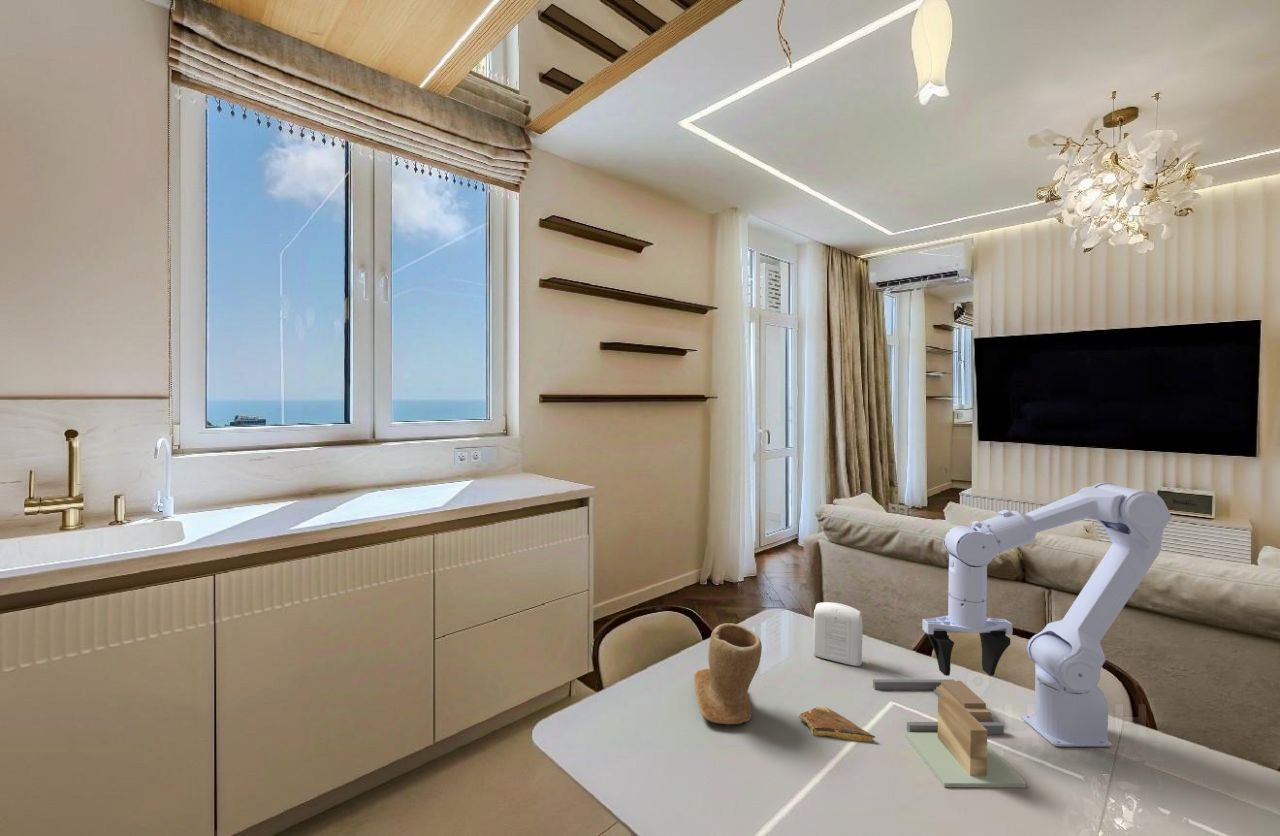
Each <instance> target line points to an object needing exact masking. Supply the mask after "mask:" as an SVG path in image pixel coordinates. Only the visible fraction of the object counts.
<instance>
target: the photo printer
mask: <svg viewBox="0 0 1280 836" xmlns="http://www.w3.org/2000/svg"><path fill="white" fill-rule="evenodd" d="M812 640H813V641H812V642H813V643H812V644H813V646H812V647H813V650H812V652H813V653H812V654H813V656H815V657H818V658H821V659H824V660H825V659H826V660H829V661H833V662H837V663H842V664H844V665H850V666H853V667H860V666H861V665H862V662H863V617H862V612H861V610H858V609H857V608H855V607H852V606H850V605H846V604H843V603H839V602H831V601H829V602H828V601H827V602H825V601H824V602H817V603H816V604H815V609H814V611H813V639H812Z"/></svg>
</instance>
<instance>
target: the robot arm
mask: <svg viewBox="0 0 1280 836" xmlns="http://www.w3.org/2000/svg"><path fill="white" fill-rule="evenodd" d="M998 514H999V515H996V516H993V517H990V518H988V519H985V520H982V521H979V520H975V521H972V522H971V525H970V527H969V526H968V525H967V526H966V525H956V526H954V527H952V528H950V529H949V531H948V532H947V533H946V535H945V538H943V539H942V544H943V547H944V550H946V552H947V553H948V590H947V592H948V597H947V598H948V601H947V602H948V603H947V605H948V606H947V608H948V609H947V610H948V611H947V613H948V614H947V615H944V616H937V617H933V618H923V619H922V621H921V622H922V623H921V625H922V628H921V629H922V631H924V633H925V634H926V636H927V637H928V639H929V641H930V644H931V646H932V648H933V650H934V654H935V656H936V657H935V658H936V661H937V665H938V670H939V671H940V673H942V674H943V676H947V677H949V676H950V674H951V661H952V660H951V659H952V653H953V648H954V646H955V645H954V644H955V642H954V641H953V640H952V639H950V635H948V633H949V634H950V633H951V634H952V633H953V634H954V633H955V634H956V633H957V634H959V633H961V634H962V633H963V634H964V633H965V634H966V633H967V634H968V633H969V634H971V633H972V634H979V639H980V644H981V666H982V668H981V669H982V671H984V672H985V673H986V675H987V674H988V676H990V677H991V676H994V675H995V673H996V670H997V667H998V663H999V661H1000V659H1001V658H1002V655H1003V654H1004V653H1005V651H1006V650H1007V649H1008V647H1009V646H1010V645H1011V638H1010V637H1009V636H1008V635H1013V622H1010V621H1009V620H1007V618H1006V619H1005V618H995V617H994V618H992V617H987V614H988V613H987V604H988V601H987V598H988V592H987V591H988V588H987V587H988V565H989V564H990V563H991V562H992V560H993V559H994V557H995V556H996V555H998V554H1001V553H1004V552H1007V551H1010V550H1013V549H1016V548H1019V547H1021V546H1025V545H1027V544H1030V543H1033V542H1034V541H1035V538H1036V536H1037V534H1038V533H1039V532H1044V531H1047V530H1050V529H1054V528H1057V527H1062V526H1064V525H1065V526H1066V525H1068V524H1071V523H1076V522H1079V521H1083V520H1087V519H1089V520H1090V519H1091V520H1096V521H1098V523H1100V525H1101V526H1102V527H1103V528H1104V529H1105V531H1106V533H1107V535H1108V538H1109V539H1110V541H1111V545H1110V547H1109V548H1108V550H1107V551H1106V553H1105V555H1103V557H1102V559H1101V561H1100V562H1099V563H1098V565H1097V567H1096V568H1095V570H1094V571H1093V573H1092V574H1091V575H1090V577H1089V579H1088V580H1087V582H1086V583H1085V585H1084V586H1083V588H1082V589H1081V591H1080V592H1079V594H1078V596H1077V597H1076V598H1075V600H1074V601H1073V603H1072V605H1071V606H1070V608H1069V609H1068V610H1067V612H1066V613H1065V615H1064V617H1063V618H1062V619H1061V620H1057V621H1053V622H1049V623H1047V624H1046V625H1045V627H1043V629H1042V630H1041V631H1040V632H1038V633H1036V634H1034V635H1033V636H1032V637H1030V638H1029V641H1028V643H1027V646H1026V650H1027V653H1028V654H1027V655H1028V657H1029V658H1030V659H1031V661H1032V662H1033V663H1034V670H1035V676H1034V678H1035V679H1034V681H1035V682H1034V683H1035V684H1034V685H1035V686H1034V714H1033V715H1028V714H1026V715H1022V716H1021V719H1022V720H1024V722H1026V724H1028V725H1029V726H1030V727H1031V728H1033V729H1034V730H1035V731H1037V732H1038V734H1039V735H1040V736H1042V737H1043V738H1045V740H1047V741H1048V742H1049V743H1050V744H1052V746H1055V747H1105V748H1106V747H1112V746H1113V744H1112V742H1111V741H1110V740H1109V739H1108V736H1109V735H1108V733H1109V732H1108V729H1109V728H1108V727H1109V706H1108V705H1109V704H1108V700H1107V698H1106V695H1105V693H1104V691H1103V690H1102V689H1101V688H1100V686H1098V685H1099V683H1100V680H1101V670H1102V667H1103V665H1104V664H1105V662H1106V657H1105V653H1104V651H1103V647H1102V644H1101V641H1102V639H1103V638H1104V636H1105V635H1106V633H1107V632H1108V631H1109V629H1110V627H1111V626H1112V625H1113V623H1114V621H1115V620H1116V619H1117V617H1118V616H1119V614H1120V613H1121V611H1123V608H1124V607H1125V605H1126V604H1127V602H1128V601H1129V599H1130V598H1131V597H1132V596H1133V593H1134V592H1135V590H1136V589H1137V587H1138V586H1139V585H1140V583H1141V582H1142V580H1143V578H1144V577H1145V575H1146V574H1147V572H1148V571H1149V570H1150V568H1151V566H1152V565H1153V564H1154V562H1155V561H1156V559H1157V558H1158V556H1159V554H1160V552H1161V550H1162V542H1163V533H1164V530H1165V529H1166V527H1167V526H1168V524H1169V522H1170V521H1171V520H1172V518H1173V517H1172V514H1171V513H1170V510H1169V508H1168V506H1167V505H1166V502H1165V501H1164V499H1163V498H1162V497H1161V496H1160V495H1159V494H1157V493H1155V492H1153V491H1149V490H1140V489H1135V488H1132V487H1126V486H1121V485H1118V484H1115V483H1112V482H1106V481H1105V482H1099V483H1097V484H1094V485H1092V486H1086V487H1082V488H1081V489H1080V490H1079V491H1077V492H1076V493H1073V494H1071V495H1067V496H1065V497H1064V498H1061V499H1059V500H1055V501H1053V502H1051V503H1049V504H1046V505H1044V506H1042V507H1038V508H1036V509H1034V510H1032V511H1029V512H1026V513H1023V512H1020V511H1018V510H1011V511H1010V510H1008V509H1003V510H1000V511H998Z"/></svg>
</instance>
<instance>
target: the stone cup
mask: <svg viewBox="0 0 1280 836" xmlns="http://www.w3.org/2000/svg"><path fill="white" fill-rule="evenodd" d="M762 649H763V647H762V641H761V639H760V638H759V636H758V635H757V633H755V632H754V631H753V630H751V629H750V628H747V627H745V626H743V625H740V624H736V623H726V622H725V623H721V624H719V625H716V627H714V629H712V632H711V634H710V639H709V647H708V656H707V657H708V666H709V667H708V668H704V669H700V670H697V671H696V672H695V673H694V678H693V679H694V688H695V689H694V690H695V697H696V702H697V706H698V709H699V712H700V714H701V716H702V717H703V718H704V719H705V720H707V721H708V722H711V723H715V724H720V725H739V724H742V723H746V722H748V721H750V719H751V717H752V703H751V699H750V696H749V694H748V691H749V688H750V685H751V683H752V681H753V679H754V677H755V675H756V673H757V671H758V669H759V667H760V662H761V657H762Z"/></svg>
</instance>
